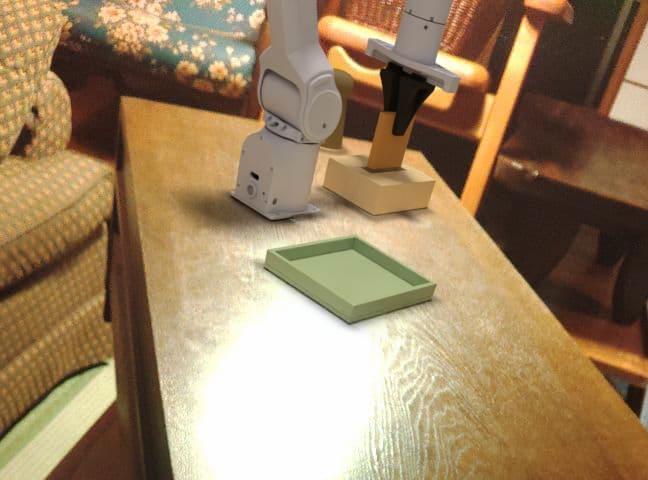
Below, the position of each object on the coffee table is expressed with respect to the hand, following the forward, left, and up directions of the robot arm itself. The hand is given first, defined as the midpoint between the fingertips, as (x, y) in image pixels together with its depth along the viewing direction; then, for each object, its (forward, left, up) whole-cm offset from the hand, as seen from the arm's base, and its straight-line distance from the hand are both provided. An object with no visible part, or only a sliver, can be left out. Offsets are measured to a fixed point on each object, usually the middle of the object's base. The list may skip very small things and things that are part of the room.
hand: (393, 132), depth 103 cm
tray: (-26, -18, -9) cm, 33 cm away
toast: (0, 0, -4) cm, 4 cm away
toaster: (0, 0, -9) cm, 9 cm away
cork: (+10, +20, -10) cm, 25 cm away
